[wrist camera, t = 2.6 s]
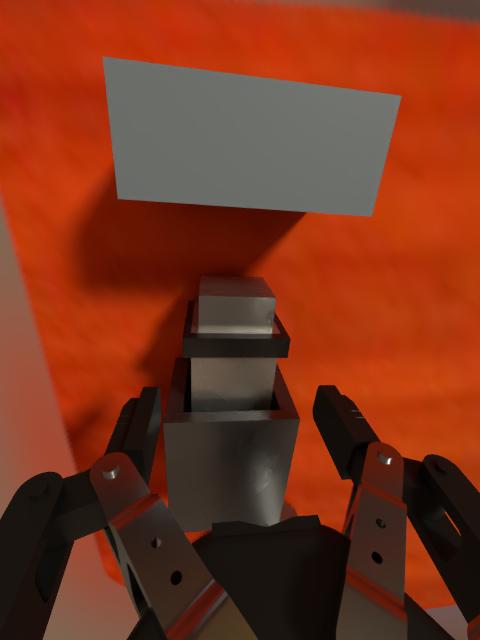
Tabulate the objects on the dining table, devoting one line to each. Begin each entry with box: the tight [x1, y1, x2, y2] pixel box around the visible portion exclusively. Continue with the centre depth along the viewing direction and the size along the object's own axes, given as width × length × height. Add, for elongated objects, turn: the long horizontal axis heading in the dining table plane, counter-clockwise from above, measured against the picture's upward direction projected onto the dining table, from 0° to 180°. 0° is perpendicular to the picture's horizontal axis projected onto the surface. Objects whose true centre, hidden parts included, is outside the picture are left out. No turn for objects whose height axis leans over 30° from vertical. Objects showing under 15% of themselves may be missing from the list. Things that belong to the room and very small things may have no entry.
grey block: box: [103, 57, 401, 216], centre depth 13 cm, size 4×10×7 cm, turn 86°
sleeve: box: [163, 358, 300, 533], centre depth 21 cm, size 10×8×7 cm
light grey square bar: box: [183, 275, 290, 412], centre depth 20 cm, size 17×6×6 cm, turn 176°
